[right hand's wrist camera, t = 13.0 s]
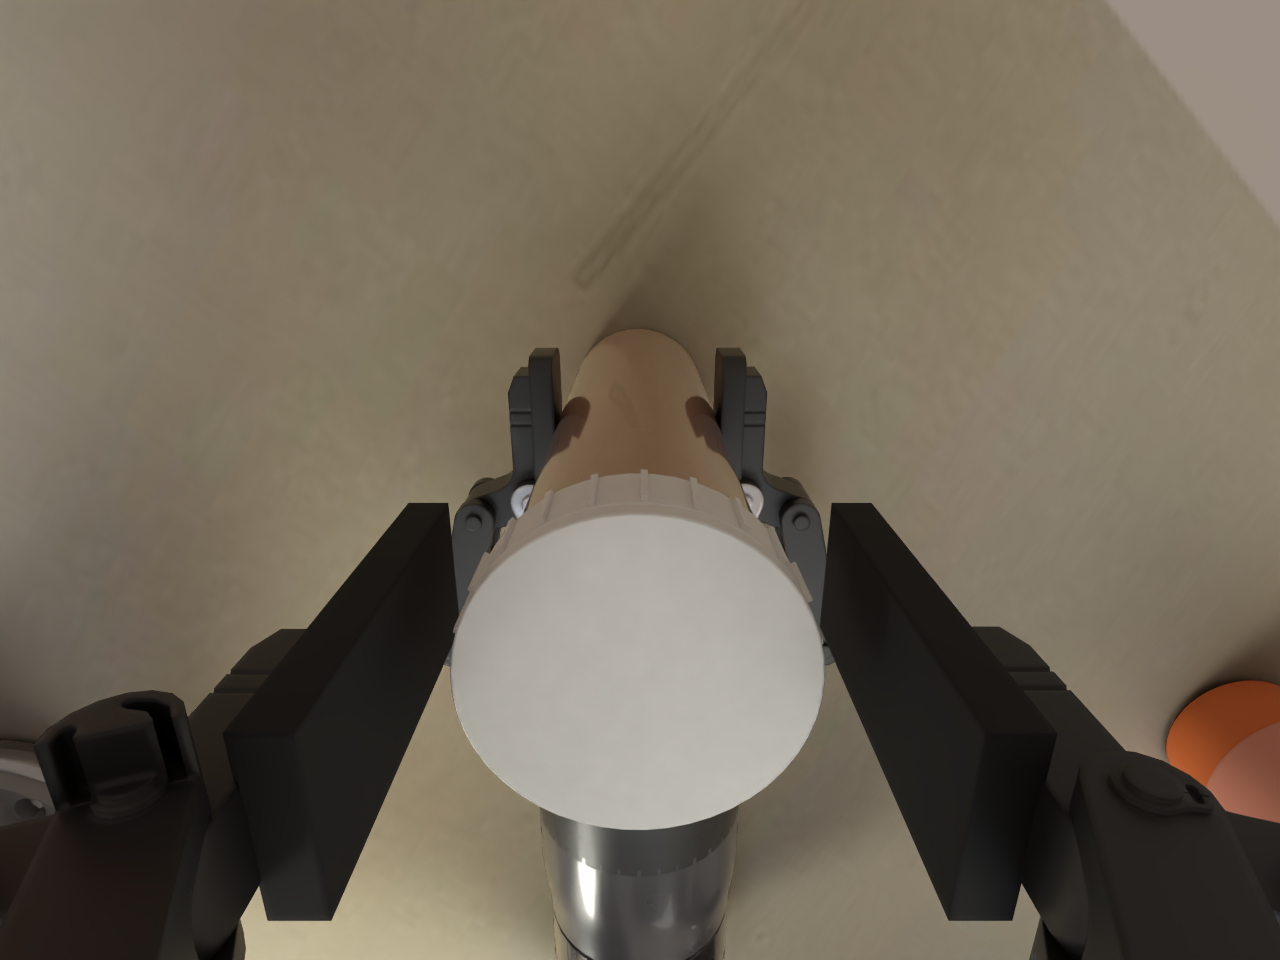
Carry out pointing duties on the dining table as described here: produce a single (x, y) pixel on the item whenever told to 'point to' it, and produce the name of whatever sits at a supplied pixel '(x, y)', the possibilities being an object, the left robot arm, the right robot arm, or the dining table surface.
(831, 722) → the dining table surface
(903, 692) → the right robot arm
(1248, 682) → the cup with straw
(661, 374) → the jar
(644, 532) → the lid
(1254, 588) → the dining table surface
